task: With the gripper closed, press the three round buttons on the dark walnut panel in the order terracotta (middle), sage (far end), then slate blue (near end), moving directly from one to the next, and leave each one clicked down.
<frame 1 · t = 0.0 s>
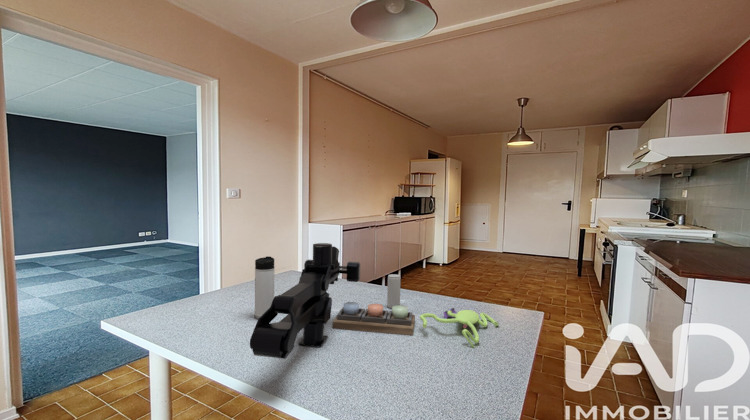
hand: (339, 265, 117), 17 cm above the table, tool horizontal, fingers open, 9 cm apart
slate button: (351, 308, 107), point 5 cm above the table, slide at 0.0 cm
beverage can: (393, 307, 123), on the table
travel mug: (264, 316, 111), on the table
sage button: (399, 311, 104), point 5 cm above the table, slide at 0.0 cm
button panel: (375, 324, 106), on the table
figurine: (459, 331, 103), on the table
terracotta button: (375, 309, 105), point 5 cm above the table, slide at 0.0 cm
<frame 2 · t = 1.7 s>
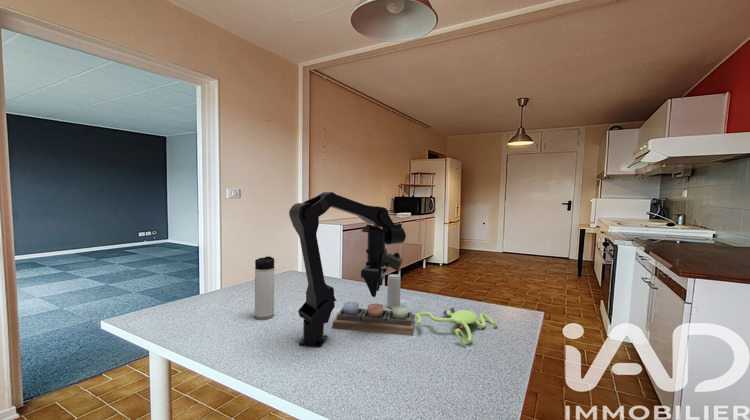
hand: (375, 293, 105), 10 cm above the table, tool pointing down, fingers open, 6 cm apart
figurine: (455, 330, 103), on the table
everything else where it was.
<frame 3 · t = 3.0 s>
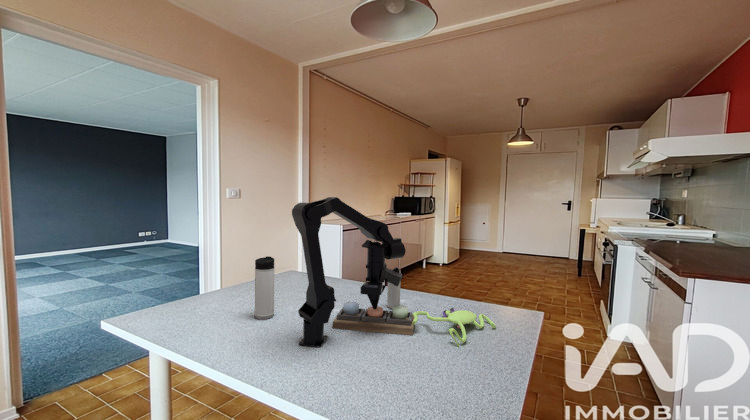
hand: (375, 308, 105), 5 cm above the table, tool pointing down, fingers closed, pressing on terracotta button
terracotta button: (375, 312, 106), point 4 cm above the table, slide at 0.9 cm, touching gripper
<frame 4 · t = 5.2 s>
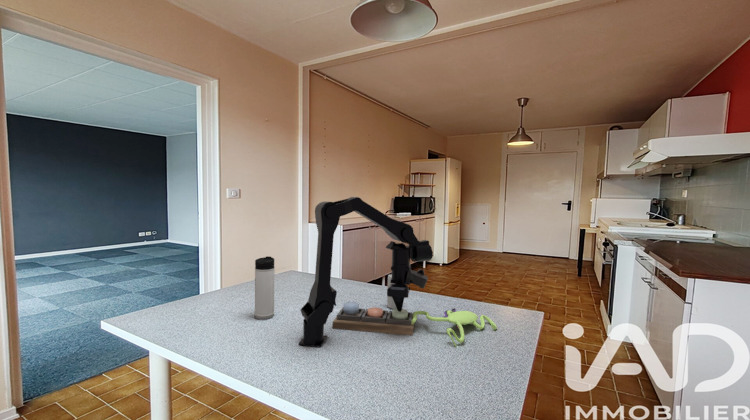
hand: (399, 311, 104), 5 cm above the table, tool pointing down, fingers closed, pressing on sage button
sage button: (399, 315, 104), point 4 cm above the table, slide at 1.0 cm, touching gripper
terracotta button: (375, 313, 106), point 3 cm above the table, slide at 1.3 cm
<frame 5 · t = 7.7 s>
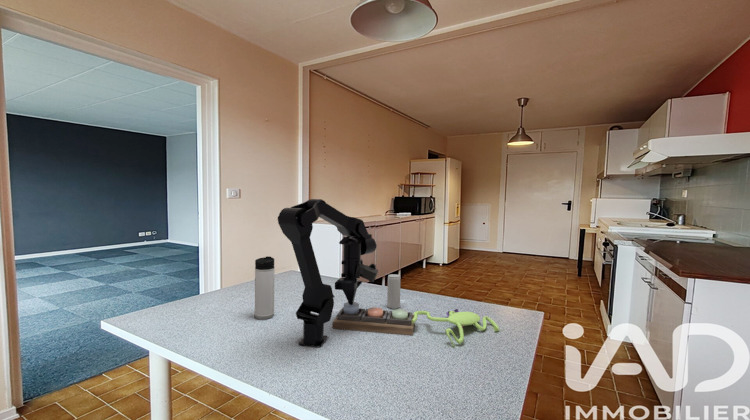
hand: (351, 304, 107), 6 cm above the table, tool pointing down, fingers closed, pressing on slate button
slate button: (351, 308, 107), point 5 cm above the table, slide at 0.0 cm, touching gripper
sage button: (399, 315, 104), point 4 cm above the table, slide at 1.2 cm
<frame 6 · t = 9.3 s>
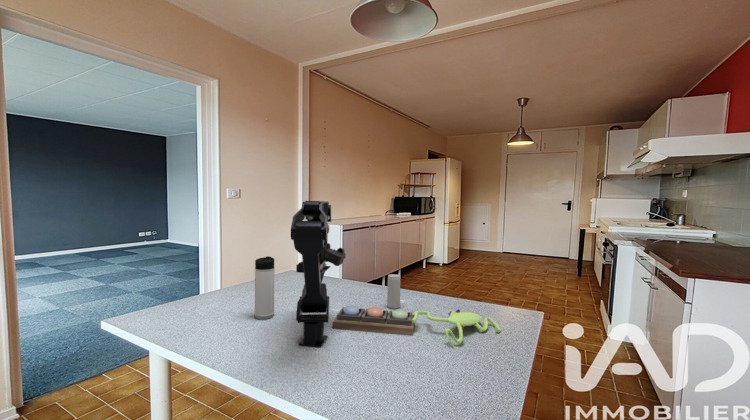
hand: (317, 289, 104), 12 cm above the table, tool pointing down, fingers closed
slate button: (351, 311, 107), point 3 cm above the table, slide at 1.3 cm
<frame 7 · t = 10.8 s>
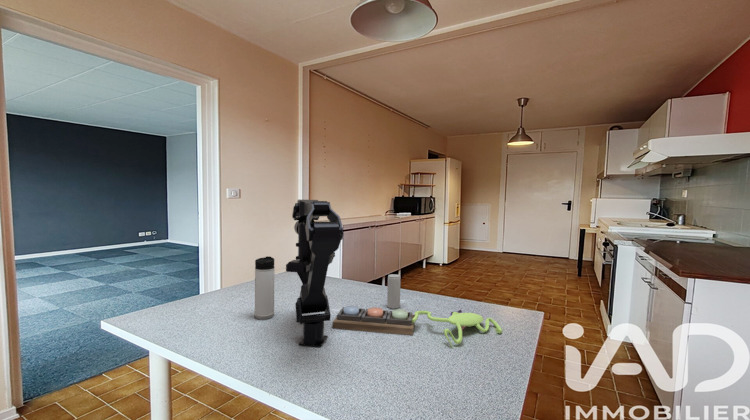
hand: (307, 288, 103), 12 cm above the table, tool pointing down, fingers closed
at the end: terracotta button slide at 1.3 cm; sage button slide at 1.2 cm; slate button slide at 1.3 cm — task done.
